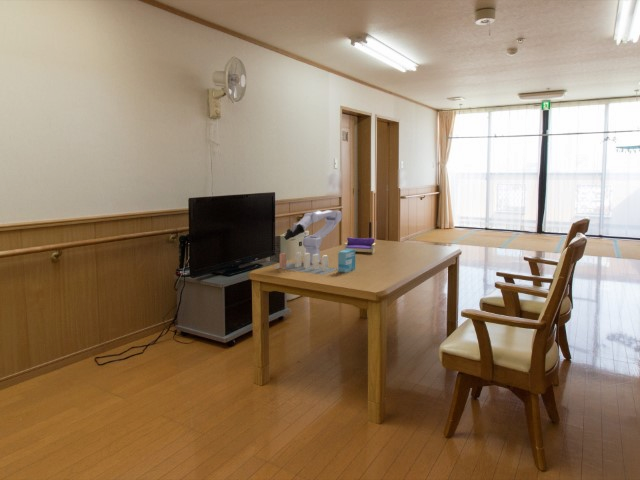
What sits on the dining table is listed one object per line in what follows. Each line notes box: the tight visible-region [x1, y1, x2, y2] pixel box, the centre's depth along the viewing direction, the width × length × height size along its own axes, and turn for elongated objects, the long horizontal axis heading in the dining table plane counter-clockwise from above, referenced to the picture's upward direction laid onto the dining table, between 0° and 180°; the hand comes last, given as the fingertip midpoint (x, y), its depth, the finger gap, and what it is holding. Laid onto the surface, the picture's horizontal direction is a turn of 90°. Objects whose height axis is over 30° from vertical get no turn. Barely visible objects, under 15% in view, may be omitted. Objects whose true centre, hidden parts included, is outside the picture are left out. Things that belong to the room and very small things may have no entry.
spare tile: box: [279, 252, 287, 268], centre depth 266 cm, size 4×2×8 cm, turn 149°
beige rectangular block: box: [294, 251, 303, 267], centre depth 268 cm, size 4×2×8 cm, turn 149°
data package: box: [337, 249, 356, 274], centre depth 258 cm, size 12×4×12 cm, turn 147°
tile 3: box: [303, 252, 311, 269], centre depth 265 cm, size 4×2×8 cm, turn 149°
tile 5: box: [320, 254, 329, 271], centre depth 259 cm, size 4×2×8 cm, turn 149°
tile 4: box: [312, 254, 320, 270], centre depth 262 cm, size 4×2×8 cm, turn 149°
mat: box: [272, 262, 338, 276], centre depth 265 cm, size 17×34×1 cm, turn 59°
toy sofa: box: [343, 236, 377, 255], centre depth 317 cm, size 21×9×10 cm, turn 73°
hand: (289, 236), depth 263 cm, fingers open, 7 cm apart
